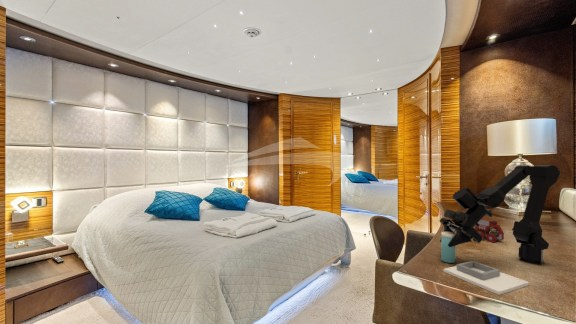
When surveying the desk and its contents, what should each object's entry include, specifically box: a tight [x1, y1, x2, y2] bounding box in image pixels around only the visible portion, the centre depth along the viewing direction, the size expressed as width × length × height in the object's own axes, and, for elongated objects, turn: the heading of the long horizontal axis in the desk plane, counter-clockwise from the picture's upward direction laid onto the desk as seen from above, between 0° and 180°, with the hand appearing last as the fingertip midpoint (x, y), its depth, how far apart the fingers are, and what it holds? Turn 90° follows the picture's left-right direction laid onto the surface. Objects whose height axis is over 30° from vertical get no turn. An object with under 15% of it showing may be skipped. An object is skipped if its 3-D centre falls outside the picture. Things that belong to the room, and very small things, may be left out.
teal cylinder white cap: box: [440, 231, 456, 264], centre depth 105 cm, size 5×5×11 cm
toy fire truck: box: [474, 218, 505, 243], centre depth 133 cm, size 7×12×10 cm, turn 30°
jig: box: [443, 260, 530, 296], centre depth 90 cm, size 16×18×3 cm
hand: (444, 244), depth 105 cm, fingers closed on teal cylinder white cap, 5 cm apart
